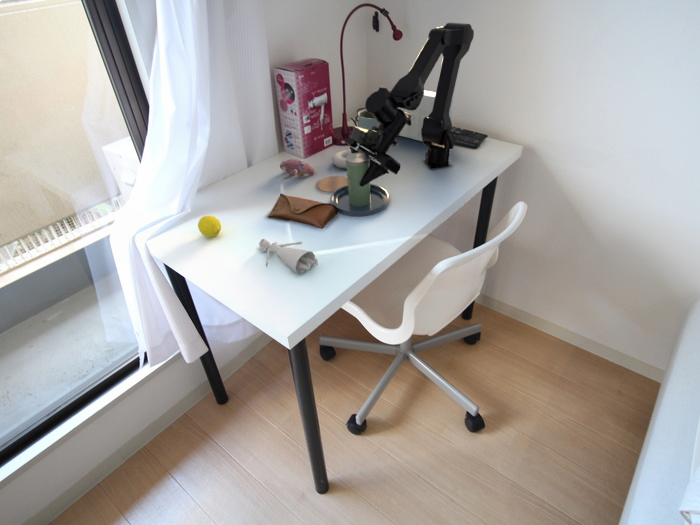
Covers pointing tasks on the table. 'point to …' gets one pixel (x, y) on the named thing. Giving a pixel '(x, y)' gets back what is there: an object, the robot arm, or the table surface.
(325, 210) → the sunglasses case
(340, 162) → the donut
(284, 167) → the video game controller
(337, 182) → the coaster
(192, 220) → the table surface
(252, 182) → the table surface
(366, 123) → the grey-green cup
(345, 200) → the plate
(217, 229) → the lemon
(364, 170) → the tea tin
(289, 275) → the table surface
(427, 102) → the skincare box
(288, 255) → the woman figurine
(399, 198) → the table surface
